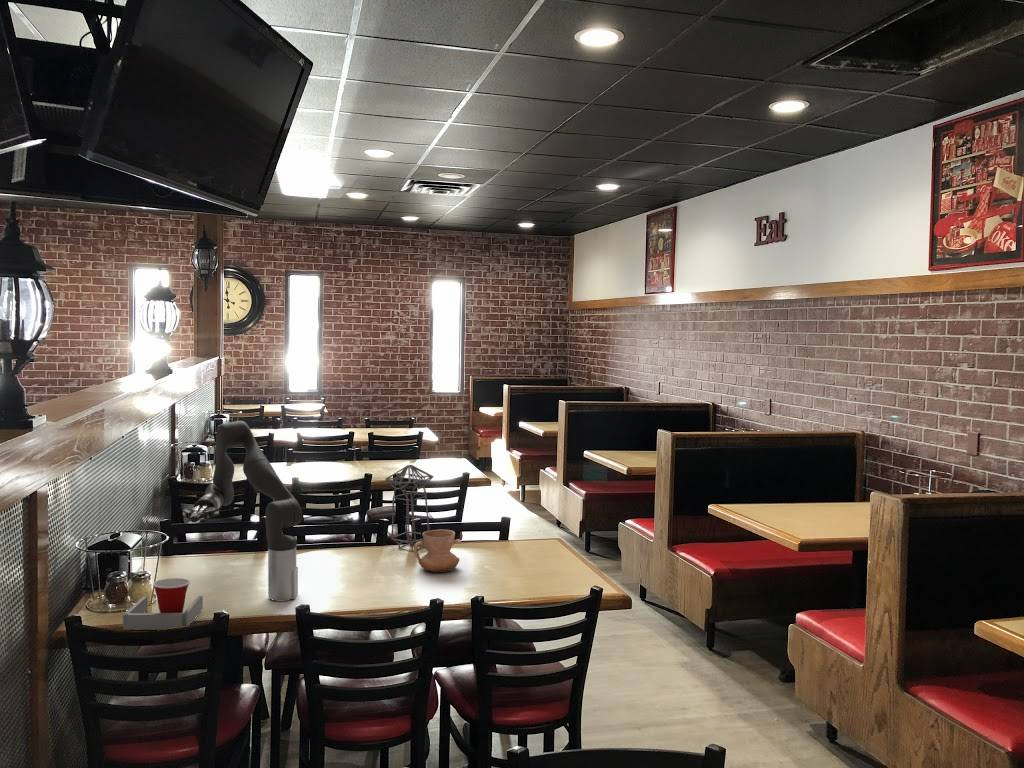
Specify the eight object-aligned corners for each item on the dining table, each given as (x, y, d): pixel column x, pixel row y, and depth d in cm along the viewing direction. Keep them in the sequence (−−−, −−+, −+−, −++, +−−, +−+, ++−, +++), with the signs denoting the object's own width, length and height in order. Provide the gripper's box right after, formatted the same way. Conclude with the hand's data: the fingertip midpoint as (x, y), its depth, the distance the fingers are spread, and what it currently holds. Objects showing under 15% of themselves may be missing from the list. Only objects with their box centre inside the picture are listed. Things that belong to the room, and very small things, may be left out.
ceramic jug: (460, 563, 311) (459, 527, 310) (462, 574, 297) (462, 536, 296) (413, 564, 309) (413, 529, 308) (414, 576, 295) (413, 538, 294)
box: (202, 610, 256) (202, 595, 256) (186, 630, 240) (186, 614, 240) (143, 611, 254) (143, 596, 254) (123, 631, 238) (122, 615, 238)
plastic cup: (198, 614, 253) (197, 577, 252) (176, 626, 243) (175, 588, 242) (168, 610, 256) (167, 574, 255) (145, 623, 245) (144, 585, 244)
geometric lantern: (413, 555, 320) (411, 469, 317) (384, 549, 328) (382, 466, 326) (437, 546, 333) (436, 463, 330) (408, 540, 342) (407, 460, 339)
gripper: (188, 496, 290) (173, 509, 273) (225, 495, 291) (212, 508, 274) (189, 516, 291) (174, 530, 273) (226, 515, 292) (214, 529, 275)
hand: (193, 519), depth 274 cm, fingers closed
